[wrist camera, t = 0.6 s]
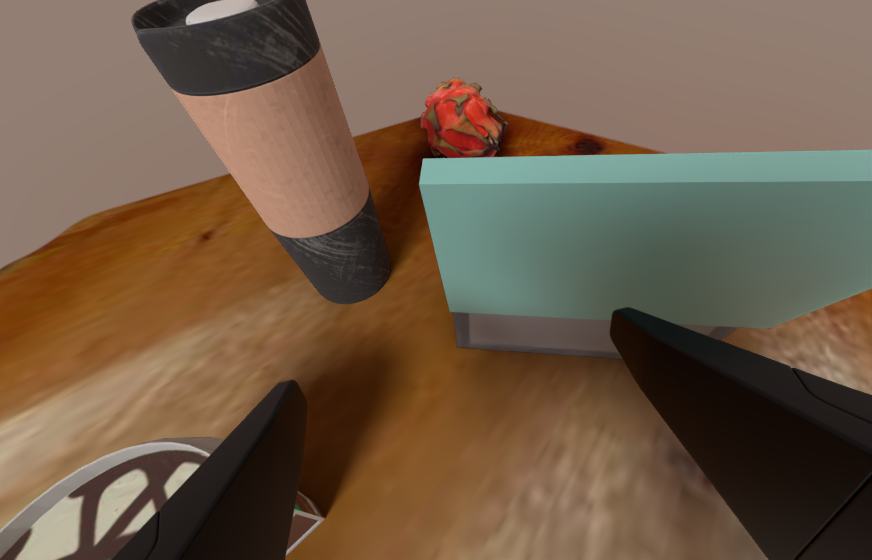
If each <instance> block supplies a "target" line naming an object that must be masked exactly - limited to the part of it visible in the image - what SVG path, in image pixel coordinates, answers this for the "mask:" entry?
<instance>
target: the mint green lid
mask: <svg viewBox="0 0 872 560" xmlns="http://www.w3.org/2000/svg"><path fill="white" fill-rule="evenodd" d="M419 186H420V191H421V195H422V199H423V203H424V207H425V211H426V215H427V220H428V224H429V228H430V232H431V236H432V240H433V245H434V249H435V253H436V257H437V261H438V265H439V269H440V274H441V278H442V282H443V286H444V290H445V294H446V298H447V303H448V307H449V311H450V312H462V313H481V314H500V315H518V316H537V317H556V318H575V319H594V320H611V317H612V312H613V311H614V310H616V309H620V308H625V307H630V308H633V309H636V310H639V311H641V312H644V313H647V314H650V315H652V316H655V317H658V318H660V319H663V320H666V321H669V322H671V323H674V324H688V325H707V326H726V327H745V328H764V329H769V328H771V327H774V326H776V325H779V324H782V323H784V322H787V321H789V320H792V319H794V318H797V317H800V316H802V315H805V314H807V313H810V312H812V311H815V310H817V309H820V308H823V307H825V306H828V305H830V304H833V303H835V302H838V301H841V300H843V299H846V298H848V297H851V296H853V295H856V294H858V293H861V292H864V291H866V290H869V289H871V288H872V150H839V151H789V152H738V153H689V154H688V153H686V154H635V155H584V156H533V157H482V158H431V159H423V162H422V168H421V175H420V181H419Z"/></svg>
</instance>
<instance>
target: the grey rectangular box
mask: <svg viewBox="0 0 872 560" xmlns="http://www.w3.org/2000/svg"><path fill="white" fill-rule="evenodd" d="M453 316H454V324H455V332H456V341H457V348H471V349H486V350H500V351H515V352H529V353H543V354H558V355H572V356H586V357H601V358H615V359H622V357H621V356H620V354H619V352H618V351H617V349H616V347H615V346H614V344H613V342H612V340H611V338H610V324H611V320H594V319H575V318H556V317H537V316H518V315H500V314H481V313H462V312H453ZM677 325H679V326H682V327H685V328H688V329H690V330H693V331H696V332H698V333H701V334H704V335H707V336H709V337H712V338H715V339H717V340H722V339H723V338H724V337H726V336H727V335H728V334H730V333H731V332H733V331H734V330H735V329H737V328H738V327H726V326H707V325H688V324H677Z"/></svg>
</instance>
